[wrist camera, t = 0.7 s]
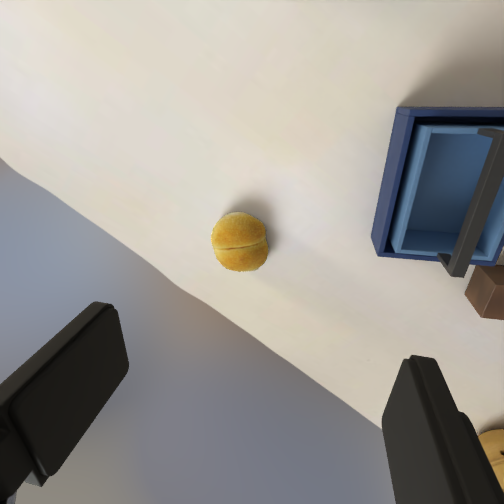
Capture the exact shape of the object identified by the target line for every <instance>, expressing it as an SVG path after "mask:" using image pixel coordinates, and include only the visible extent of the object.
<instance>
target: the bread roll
mask: <svg viewBox="0 0 504 504" xmlns="http://www.w3.org/2000/svg"><path fill="white" fill-rule="evenodd" d="M265 236H266V230H265V227H264V225H263V223H262V222H261V221H260V220H258V219H256V218H255V217H253V216H251V215H249V214H246V213H243V212H232V213H229V214H227V215H226V216H224V217H223V218H221V219H220V220H219V221H218V222H217V223H216V225H215V226H214V228H213V231H212V235H211V242H212V246H213V249H214V252H215V255H216V257H217V259H218V261H219V262H220V263H221V264H222V265H223V266H224V267H225V268H227V269H229V270H233V271H238V272H241V271H242V272H244V271H245V272H246V271H254V270H257V269H258V268H259V267H260V266H261V265H263V264H264V263H265V261H266V259H267V256H268V245H267V242H266V237H265Z"/></svg>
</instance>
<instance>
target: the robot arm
mask: <svg viewBox="0 0 504 504" xmlns="http://www.w3.org/2000/svg"><path fill="white" fill-rule="evenodd" d="M128 369H129V362H128V357H127V352H126V348H125V343H124V339H123V334H122V330H121V325H120V320H119V316H118V312H117V310H116V309H114V306H113V305H112V304H108V303H101V302H93V303H91V304H90V305H89V306H88V307H87V308H86V309H85V310H83V311H82V312H81V313H80V314H79V315H78V316H77V317H75V318H74V319H73V320H72V321H71V322H70V323H69V324H68V325H66V326H65V327H64V328H63V329H62V330H61V331H60V332H59V333H57V334H56V335H55V336H54V337H53V338H52V339H51V340H50V341H48V342H47V343H46V344H45V345H44V346H43V347H42V348H41V349H40V350H38V351H37V352H36V353H35V354H34V355H33V356H32V357H30V358H29V359H28V360H27V361H26V362H25V363H24V364H23V365H21V367H19V368H18V369H17V370H16V371H15V372H14V373H13V374H11V375H10V376H9V377H8V378H7V379H6V380H5V381H4V382H3V383H1V384H0V504H15V499H16V492H17V489H18V488H19V487H20V486H21V484H22V483H23V481H25V482H26V483H30V484H33V485H37V486H40V487H42V486H43V484H44V483H45V482H46V480H47V479H48V477H49V476H52V475H54V474H55V473H56V472H57V471H58V470H59V469H60V467H61V466H62V464H63V463H64V462H65V460H66V459H67V457H68V456H69V455H70V453H71V452H72V450H73V449H74V448H75V446H76V445H77V443H78V442H79V440H80V439H81V438H82V436H83V435H84V433H85V432H86V431H87V429H88V428H89V426H90V425H91V423H92V422H93V421H94V419H95V418H96V416H97V415H98V413H99V412H100V411H101V409H102V408H103V407H104V405H105V404H106V402H107V401H108V399H109V398H110V397H111V395H112V394H113V392H114V391H115V390H116V388H117V387H118V385H119V384H120V382H121V381H122V380H123V378H124V377H125V375H126V374H127V372H128ZM382 430H383V436H384V440H385V446H386V452H387V457H388V463H389V468H390V474H391V479H392V484H393V490H394V495H395V501H396V504H504V492H503V490H502V488H501V486H500V483H499V481H498V479H497V477H496V475H495V473H494V470H493V468H492V466H491V464H490V462H489V460H488V457H487V455H486V453H485V451H484V449H483V447H482V444H481V442H480V440H479V438H478V436H477V434H476V432H475V429H474V427H473V425H472V423H471V421H470V420H469V418H468V416H467V415H465V414H464V413H463V412H460V411H458V409H457V407H456V404H455V402H454V400H453V398H452V395H451V393H450V391H449V388H448V386H447V384H446V382H445V379H444V377H443V375H442V372H441V370H440V368H439V366H438V363H437V362H436V360H435V359H434V358H429V357H423V356H417V355H412V356H410V358H409V359H404V360H403V362H402V364H401V367H400V370H399V372H398V375H397V378H396V380H395V383H394V386H393V389H392V391H391V394H390V397H389V399H388V402H387V405H386V407H385V410H384V413H383V416H382Z"/></svg>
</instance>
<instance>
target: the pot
mask: <svg viewBox="0 0 504 504" xmlns="http://www.w3.org/2000/svg"><path fill="white" fill-rule="evenodd" d="M478 438H479V440H480V442H481V444H482V447H483V449H484V451H485V453H486V455H487V457H488V460H489V462H490V464H491V466H492V468H493V470H494V473H495V475H496V477H497V479H498V481H499V483H500V486H501V488H502V490H503V492H504V429H496V430H490V431H487V432H484V433H482V434H481V435H479V436H478Z"/></svg>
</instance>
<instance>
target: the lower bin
mask: <svg viewBox="0 0 504 504" xmlns="http://www.w3.org/2000/svg"><path fill="white" fill-rule="evenodd" d="M414 121H428V122H504V107H397V109H396V114H395V119H394V124H393V129H392V134H391V139H390V144H389V149H388V154H387V159H386V164H385V169H384V174H383V178H382V183H381V188H380V193H379V198H378V203H377V208H376V213H375V218H374V223H373V228H372V233H371V239H372V242H373V245H374V247H375V250H376V253H377V256H379V257H391V258H402V259H414V260H425V261H437V262H440V261H439V259H438V258H437V256H426V255H415V254H403V253H395V251H394V249H393V246H392V244H391V242H390V240H389V238H388V232H389V227H390V223H391V219H392V214H393V210H394V206H395V201H396V197H397V193H398V188H399V184H400V180H401V175H402V171H403V167H404V162H405V158H406V154H407V149H408V145H409V141H410V136H411V132H412V128H413V123H414ZM503 246H504V234H503V236H502V238H501V241H500V243H499V245H498V248H497V250H496V252H495V255H494V257H493V259H492V261H487V260H486V261H485V260H474V259H471V261H470V264H471V265H482V266H495V264H496V262H497V259H498V257H499V255H500V253H501V250H502V248H503Z"/></svg>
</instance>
